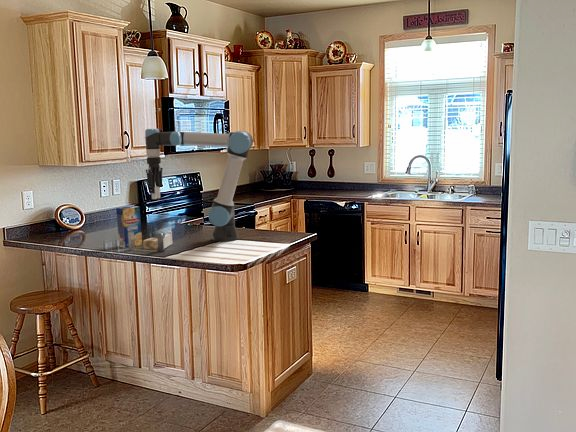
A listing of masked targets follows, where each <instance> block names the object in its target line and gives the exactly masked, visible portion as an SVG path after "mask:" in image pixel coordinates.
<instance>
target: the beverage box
mask: <svg viewBox="0 0 576 432" xmlns="http://www.w3.org/2000/svg"><path fill="white" fill-rule="evenodd" d="M140 208H141V207H140V206H137V205H128V206H123V207H116V208H115V209H116V210H115V211H116V221H117V224H116V225H117V235H118V247H120V248H125V249H127V248H128V249H129V240H128V232H134V238H135V247H137V246H143V235H142V234H143V233H142V222H141V221H142V220H141V209H140Z"/></svg>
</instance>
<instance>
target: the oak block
mask: <svg viewBox="0 0 576 432" xmlns="http://www.w3.org/2000/svg"><path fill="white" fill-rule="evenodd" d="M142 246H143V250H158V240H157V237H150V238H146V239H144V240H143V239H142Z"/></svg>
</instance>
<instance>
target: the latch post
mask: <svg viewBox="0 0 576 432" xmlns="http://www.w3.org/2000/svg"><path fill="white" fill-rule="evenodd" d="M128 240H129V247H128V249H129V252H130V251H131V252H132V251H135V250H134V249H136V246H135V238H134V232H128Z"/></svg>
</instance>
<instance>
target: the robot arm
mask: <svg viewBox="0 0 576 432" xmlns="http://www.w3.org/2000/svg"><path fill="white" fill-rule="evenodd" d="M144 134H145V135H144V139H145V150H146V151H145V152H146V154H145V155H146V164H147V165H148V168H147V169H145V173H146V178H147V186H148V188H150V193H151V200H157V199H161V187H162V185H163V169H164V168H163V167H161V166H160V164H161V160H162V159H161V147H163V146H164V147H165V146H167V147H169V146H173V147H174V146H196V147H198V146H200V147H212V148H213V147H216V148H218V147H219V148H227V149H226V154H227V156H228V157H227V159H226V163H225V168H224V172H223V174H222V178H221V182H220V186H219V189H218V192H217V193H218V194H217V197H216V198H214V199H213V201H212V205H211V208H210V210H209V211H208V219H209V220H208V221H209V222H210V223H211V224H212V225H213V226H214V229H213V233H212V240H213V241H214V242H232V240H233V241H236V240H238V239H239V234H238V231H237V229H236V226H235V225H236V220H235V219H236V218H235V201H233V198H234V195H235V192H236V189H237V185H238V181H239V178H240V174H241V170H242V168H243V164H244V161H245V160H247V159H248V155H249V152H250V149H251V148H252V146H253V144H254V140H253V137H252V135H251V133H249V132H247V131H244V130H238V131H233V132H232V131H231V132H228V133H216V132H215V133H214V132H211V133H210V132H193V131H190V132H189V131H159V128H147V129H145V131H144Z"/></svg>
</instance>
